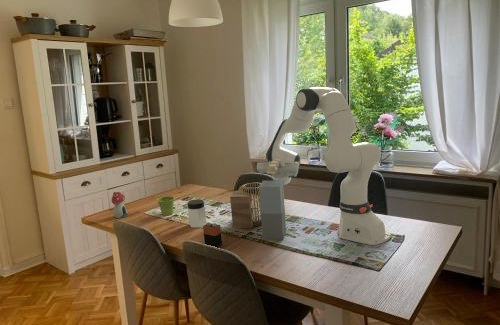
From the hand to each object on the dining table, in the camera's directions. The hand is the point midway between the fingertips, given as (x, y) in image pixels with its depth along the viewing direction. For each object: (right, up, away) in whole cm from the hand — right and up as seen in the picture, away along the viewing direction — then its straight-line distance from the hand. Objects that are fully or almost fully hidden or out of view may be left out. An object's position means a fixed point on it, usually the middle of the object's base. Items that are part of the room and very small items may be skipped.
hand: (275, 162), depth 181 cm
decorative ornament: (-83, -30, +34) cm, 95 cm away
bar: (-1, -3, -4) cm, 5 cm away
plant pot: (-57, -28, +32) cm, 72 cm away
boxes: (-8, -31, 0) cm, 32 cm away
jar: (-38, -31, +12) cm, 50 cm away
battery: (-28, -36, -14) cm, 47 cm away
